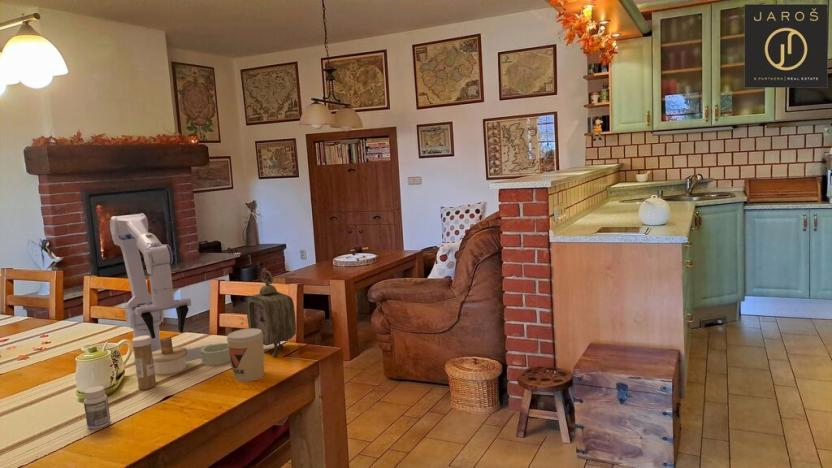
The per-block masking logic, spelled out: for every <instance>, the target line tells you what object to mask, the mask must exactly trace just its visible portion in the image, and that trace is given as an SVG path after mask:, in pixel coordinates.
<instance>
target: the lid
mask: <svg viewBox="0 0 832 468" xmlns="http://www.w3.org/2000/svg"><path fill="white" fill-rule="evenodd" d="M172 340H173V339H172V337H163V338H160V343H161V349H160V350H157V351H154V352H152V356H153V362H167V361H172V360H176V359H179V358H181V357H184V356H185V355H187V350H188V349H187V347H184V346H183V347H182V346H173V341H172Z"/></svg>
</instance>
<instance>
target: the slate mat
mask: <svg viewBox="0 0 832 468" xmlns="http://www.w3.org/2000/svg"><path fill="white" fill-rule="evenodd" d="M209 345H212V343H211V344H206V345H201V346H197V347H194V348H189V349H187V355H185V356H186V362H191V361H195V360H197V359H202V356H201V349H202V348H204V347H206V346H209Z"/></svg>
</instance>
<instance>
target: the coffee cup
mask: <svg viewBox="0 0 832 468" xmlns="http://www.w3.org/2000/svg"><path fill="white" fill-rule="evenodd" d="M226 341H227V343H228V346H229V352H230V357H231V361H230V362H231V367H232V375H233V377H234V380H235V381H236V382H244V383H246V382H252V381H256V380H259V379H261V378H262V377H263V376H264V375H265V359H264V345H263V332H262V331H261V330H260V329H254V328H252V329H249V328H242V329H237V330H234V331H232V332H230V333H228V335H227V337H226Z"/></svg>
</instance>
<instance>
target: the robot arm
mask: <svg viewBox="0 0 832 468" xmlns="http://www.w3.org/2000/svg"><path fill="white" fill-rule="evenodd" d="M109 230H110V234H111V238H112V241H113V244H114V245H116V246H119V247H120V250H121V253H122V257H123V262H124V265H125V270H126V275H127V279H128V282H129V287H130V292H131V296H132V297H131V298H130V299H129V300H128V301H127V302H126V303H125V306H124V313H125V321H126V324H127V326H128V327H129V328H130V329H131V330H132V331H133V338H135V337H139V336H150V337H151V349H152V352H154V351H157V350H160V349H161V343H160V340H161V335H160V326H161V323H162V322H163V320H164V317H165V316H164V311H166V310H171V309H175V310H176V311H175V312H176V316H177V325H178V326H177V327H178V332H179V333H184V327H185V321H186V318H187V315H188V313H189V311H190V310H189V307H192V301H191V298H189V297H188V298H182V299H175V296H174V288H173V279H172V271H171V270H172V269H171V265H172V264H173V260H174V259H173V252H172V249H171V246H170V245H169V244H162V243H161V241H160V240H159V239H158V237H157V236H156V235H155V234H154V233H151V232H149V221H148V217H147V216H146V215H145V214H144V213H143V212H141V213H137V214H136V213H135V214H127V215H117V216H115V215H113V216H111V217H110V220H109ZM140 252H141V253H142V255H143V260H144V265H145V267H146V272H147V274H148V275H149V276H148V277H149V285H150V292H149V288H148V285H147V284H148V283H147V280H146V276H145V271H144V267H143V261H142V258H141V254H140ZM132 354H133V355H134V350H133V351H132Z"/></svg>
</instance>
